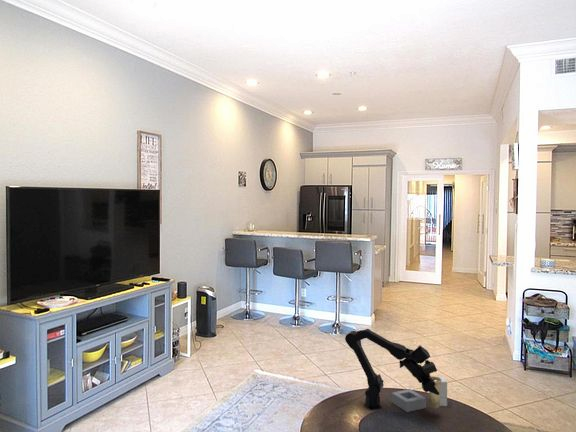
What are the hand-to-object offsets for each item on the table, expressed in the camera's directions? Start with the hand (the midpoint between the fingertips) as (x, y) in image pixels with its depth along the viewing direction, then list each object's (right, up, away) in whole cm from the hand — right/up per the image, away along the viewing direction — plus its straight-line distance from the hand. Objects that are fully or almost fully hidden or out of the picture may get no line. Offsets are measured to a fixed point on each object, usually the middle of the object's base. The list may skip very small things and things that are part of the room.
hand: (437, 392), depth 198 cm
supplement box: (+5, -12, +14) cm, 19 cm away
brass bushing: (-1, -7, 0) cm, 7 cm away
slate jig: (-11, -12, +11) cm, 19 cm away
